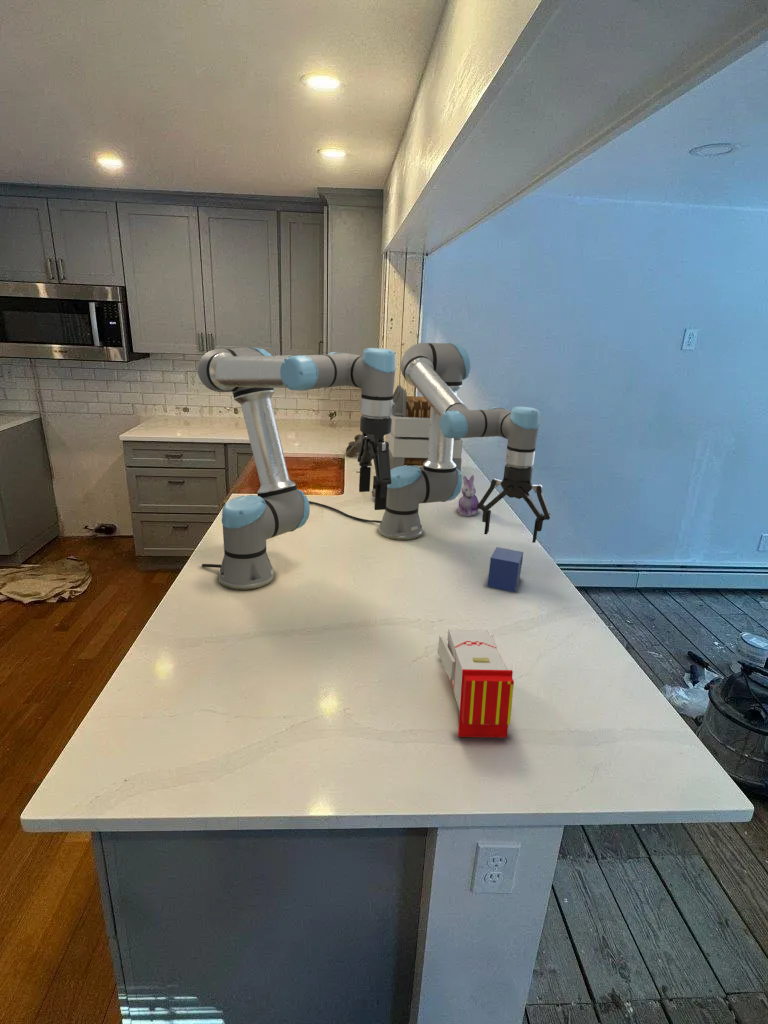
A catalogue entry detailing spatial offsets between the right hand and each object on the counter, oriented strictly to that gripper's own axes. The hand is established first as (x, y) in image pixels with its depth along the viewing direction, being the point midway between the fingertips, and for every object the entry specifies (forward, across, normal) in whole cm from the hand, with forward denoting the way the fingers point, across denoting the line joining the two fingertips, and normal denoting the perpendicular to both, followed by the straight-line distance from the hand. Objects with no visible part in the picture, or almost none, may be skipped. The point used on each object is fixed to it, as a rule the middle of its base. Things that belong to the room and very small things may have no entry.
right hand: (510, 536), depth 162 cm
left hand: (-14, +31, +28) cm, 45 cm away
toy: (+15, -2, +54) cm, 56 cm away
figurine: (+14, +24, -56) cm, 62 cm away
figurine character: (+14, +62, -56) cm, 85 cm away
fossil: (+14, +102, -121) cm, 159 cm away
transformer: (+14, +59, -100) cm, 118 cm away
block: (+15, 0, 0) cm, 15 cm away
